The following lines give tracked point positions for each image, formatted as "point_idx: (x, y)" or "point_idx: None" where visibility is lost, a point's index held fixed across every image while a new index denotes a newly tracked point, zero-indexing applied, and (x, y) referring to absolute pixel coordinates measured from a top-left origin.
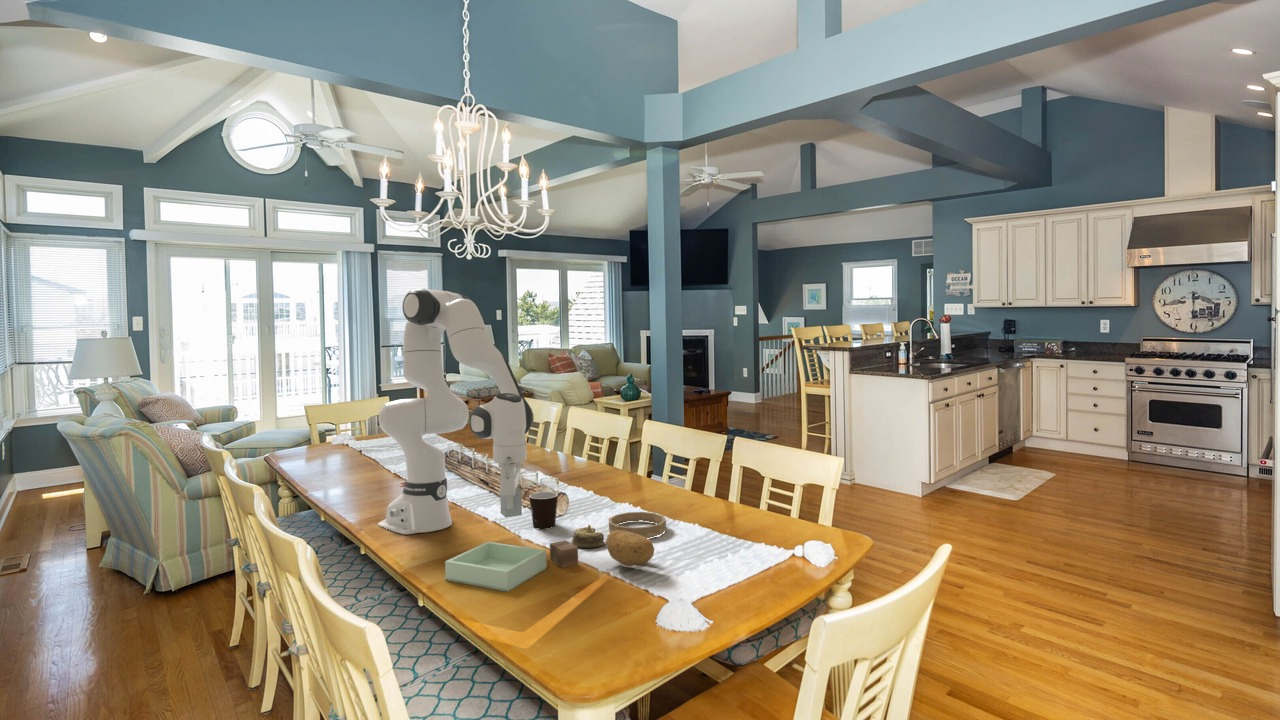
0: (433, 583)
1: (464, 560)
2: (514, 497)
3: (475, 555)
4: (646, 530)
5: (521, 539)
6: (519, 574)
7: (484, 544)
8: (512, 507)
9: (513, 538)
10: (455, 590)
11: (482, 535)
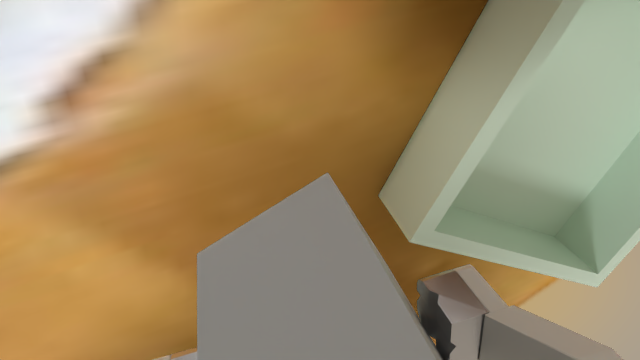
0: None
1: (535, 246)
2: (435, 351)
3: (488, 233)
4: None
5: (63, 138)
6: None
7: (450, 240)
8: (471, 270)
9: (56, 186)
10: None
11: (50, 332)
